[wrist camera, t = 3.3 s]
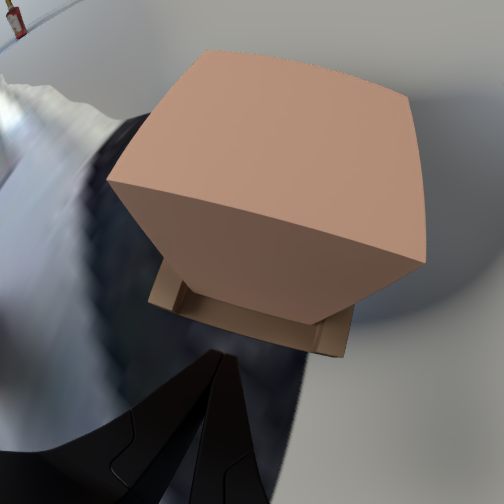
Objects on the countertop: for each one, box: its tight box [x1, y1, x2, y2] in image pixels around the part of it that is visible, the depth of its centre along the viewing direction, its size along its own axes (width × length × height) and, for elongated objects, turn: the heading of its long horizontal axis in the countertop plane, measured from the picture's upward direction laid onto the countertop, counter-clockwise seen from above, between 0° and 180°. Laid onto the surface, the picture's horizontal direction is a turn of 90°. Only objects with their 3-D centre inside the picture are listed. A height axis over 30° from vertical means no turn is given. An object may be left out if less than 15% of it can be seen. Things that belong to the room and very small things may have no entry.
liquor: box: [6, 0, 27, 39], centre depth 42 cm, size 7×7×28 cm
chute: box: [148, 258, 355, 358], centre depth 16 cm, size 15×11×4 cm
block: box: [106, 50, 426, 325], centre depth 11 cm, size 6×7×11 cm
